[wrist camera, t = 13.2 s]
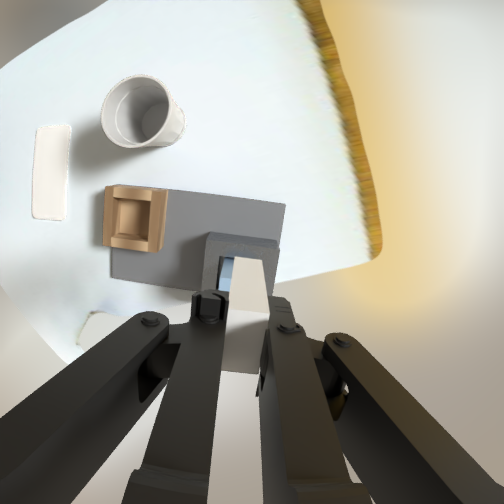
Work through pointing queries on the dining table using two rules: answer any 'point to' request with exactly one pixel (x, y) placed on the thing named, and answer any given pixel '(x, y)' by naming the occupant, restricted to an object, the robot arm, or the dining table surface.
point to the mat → (196, 237)
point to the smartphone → (50, 172)
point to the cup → (142, 114)
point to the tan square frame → (134, 217)
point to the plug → (226, 274)
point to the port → (238, 247)
